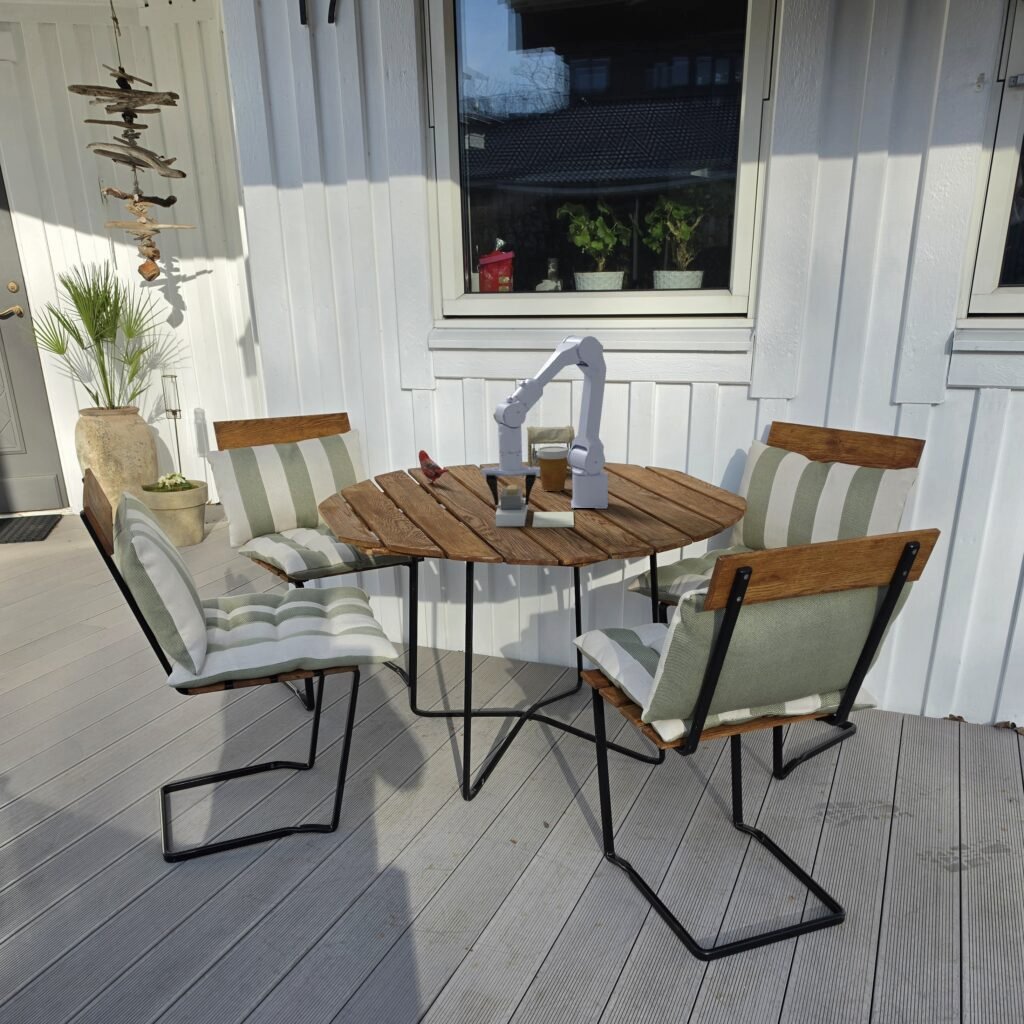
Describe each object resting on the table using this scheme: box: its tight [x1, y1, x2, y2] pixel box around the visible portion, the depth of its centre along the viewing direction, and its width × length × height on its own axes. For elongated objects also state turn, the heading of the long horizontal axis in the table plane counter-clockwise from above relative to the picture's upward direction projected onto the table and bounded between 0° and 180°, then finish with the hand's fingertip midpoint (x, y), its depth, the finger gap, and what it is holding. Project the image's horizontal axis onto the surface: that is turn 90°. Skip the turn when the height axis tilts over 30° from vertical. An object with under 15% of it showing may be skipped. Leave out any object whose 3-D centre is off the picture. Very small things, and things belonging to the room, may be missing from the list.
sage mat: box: [531, 511, 575, 528], centre depth 187 cm, size 10×12×1 cm
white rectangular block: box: [495, 484, 529, 527], centre depth 189 cm, size 7×16×6 cm, turn 176°
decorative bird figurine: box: [418, 449, 450, 485], centre depth 226 cm, size 3×18×10 cm, turn 37°
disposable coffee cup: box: [536, 445, 569, 491], centre depth 216 cm, size 10×10×12 cm
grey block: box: [499, 484, 524, 510], centre depth 189 cm, size 5×8×4 cm, turn 176°
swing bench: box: [526, 425, 576, 474], centre depth 238 cm, size 15×10×15 cm, turn 91°
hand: (511, 504), depth 189 cm, fingers open, 7 cm apart
